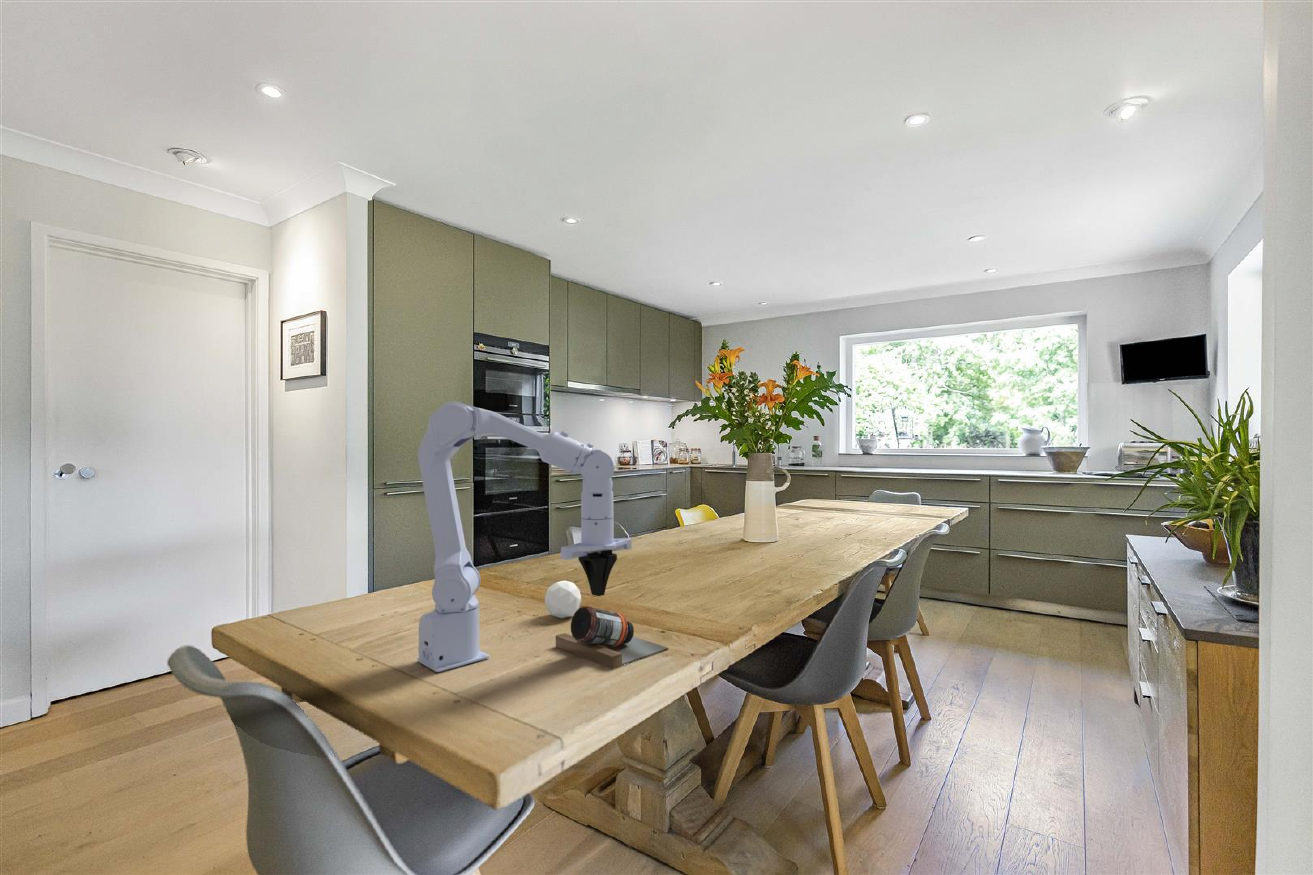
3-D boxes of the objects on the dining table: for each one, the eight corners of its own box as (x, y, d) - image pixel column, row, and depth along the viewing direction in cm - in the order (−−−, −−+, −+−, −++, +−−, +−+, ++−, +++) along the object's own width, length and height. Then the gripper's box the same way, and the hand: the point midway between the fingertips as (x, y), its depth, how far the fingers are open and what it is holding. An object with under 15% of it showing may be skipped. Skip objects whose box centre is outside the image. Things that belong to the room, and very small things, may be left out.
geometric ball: (566, 632, 126) (561, 608, 121) (540, 613, 130) (534, 589, 125) (590, 608, 131) (586, 584, 126) (564, 591, 135) (560, 567, 130)
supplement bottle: (570, 607, 105) (615, 617, 113) (567, 642, 102) (614, 651, 110) (593, 603, 102) (638, 614, 109) (590, 639, 99) (637, 648, 106)
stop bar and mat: (612, 668, 97) (612, 656, 97) (555, 646, 109) (555, 635, 109) (668, 649, 106) (668, 638, 106) (610, 630, 118) (610, 620, 118)
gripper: (578, 523, 98) (578, 606, 98) (642, 516, 108) (643, 591, 108) (553, 520, 103) (553, 599, 103) (616, 513, 113) (617, 585, 113)
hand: (597, 594), depth 105 cm, fingers closed
